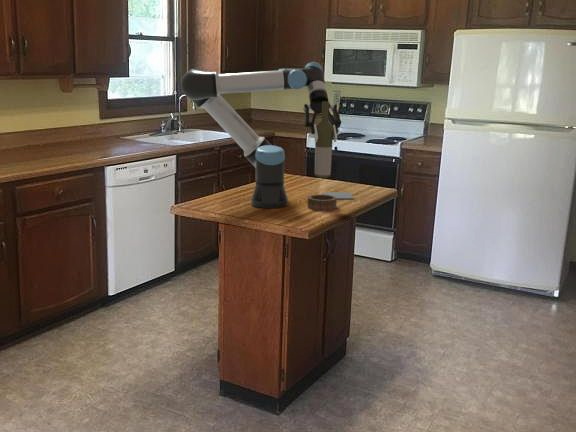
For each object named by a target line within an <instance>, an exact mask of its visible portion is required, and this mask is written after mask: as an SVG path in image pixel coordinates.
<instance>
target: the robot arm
mask: <svg viewBox="0 0 576 432" xmlns="http://www.w3.org/2000/svg"><path fill="white" fill-rule="evenodd" d="M325 81H326V80H325V76H324V70H323V67H322V65H321V64H320V63H319V62H316V61H311V62H309V63H308V62H307V64H306V65H305V66H304V67H303V68H302V67H301V68H299V67H298V68H279V69H278V70H266V71H251V72H250V71H249V72H237V73H235V72H234V73H217V71H211V72H210V71H203V70H201V69H198V68H193V69H189V70H188V71H187V72H185V73H184V75H182V77H181V81H180V86H181V91H182V93H183V94H184V96H185V97H186V98H187V99H189V100H191V102H192V103H193V104H194V105H195V106H196V107H197V108H198V109H203V110H205V111H206V112H207V113H208V114H209V116H211V117H212V119H213V120H215V122H217V124H218V125H219V126H220V127H221V128H222V129H223V130H224V131H225V132H226V133H227V134H228V135H229V136H230V137H231V138H232V139H233V141H234V142H236V144H237V146H239V147H240V148H241V149H242V150H243V156H244V158H245V159H246V160H247V161H249V163H250V164H251V165H252V166H253V167H254V168H255V186H254V189H253V193H252V196H251V199H250V204H251V206H253V207H256V208H261V209H279V208H284V207H287V206H288V204H289V199H288V196H287V192H286V189H285V160H286V156H285V149H283V148H282V147H281V146H277V145H272V144H271V142H269V141H268V139H266V137H265V136H259V135H258V134H257V133H256V131H254V129H252V128H251V127H250V125H249V124H248V123H247V122H246V121H245V119H243V118H242V116H240V115H239V114H238V112H237V111H236V110H235V108H233V107H232V106H231V105H230V104H229V102H227V100H226V99H225V98H224V97H222V95H225V94H241V93H254V92H264V91H265V92H268V91H280V90H281V91H282V90H300V89H302V88H304V87H306V88H307V92H308V99H309V104H307V103H305V104H304V106H303V112H304V126H305V128H309V130H310V133H311V135H313V136H314V137H313V138H314V143H315V142H317V140H318V133H317V128H316V126H317V124H315V121H316V119H317V115H322V101H328V102H329V97H328V90H327V85H326V82H325ZM310 110H312V111H313V115H312V118H311V122H310ZM330 111H331V112H332V113H331V112H330ZM328 122H329V123H330V125H331V126H332V127H333V142H334V143H336V142H337V140H338V133H339V129H338V128H341V125H342V120H341V117H340V114H339V111H338V105H337V104H334V105H332V104H331V103H330V102H329V109H328Z"/></svg>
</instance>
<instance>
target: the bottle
mask: <svg viewBox="0 0 576 432" xmlns="http://www.w3.org/2000/svg"><path fill="white" fill-rule="evenodd" d="M328 101H329V100H328ZM328 101H322V114H321V119H320V120H321V121H320V122H319V123H318V124H316V128H317V133H318V140H317V142H315V141H314V176H315V177H316V178H318V179H328V178H330V177H331V173H332V156H333V142H334V139H333V127H332V125H331V124H330V122H329V120H328V109H329V110H330V108H329V103H330V102H328Z"/></svg>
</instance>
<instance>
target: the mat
mask: <svg viewBox="0 0 576 432" xmlns="http://www.w3.org/2000/svg"><path fill="white" fill-rule="evenodd" d="M322 195H331V196H335V197H336V198H337V200H338V201H339V200H343V201H345V200H346V201H347V200H349V201H350V200H355V197H354V196H353V195H352V194H351V192H347V191H346V192H340V191H339V192H337V191H336V192H334V191H333V192H329V191H328V192H326V191H325V192H324V191H323V192H322Z"/></svg>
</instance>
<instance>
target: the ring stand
mask: <svg viewBox="0 0 576 432" xmlns="http://www.w3.org/2000/svg"><path fill="white" fill-rule="evenodd" d="M337 202H338V201H337V198H336V197H335V196H331V195H323V194H311V195H308V196H307V208H308V209H310V210H315V211H333V210H335V209H337Z"/></svg>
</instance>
